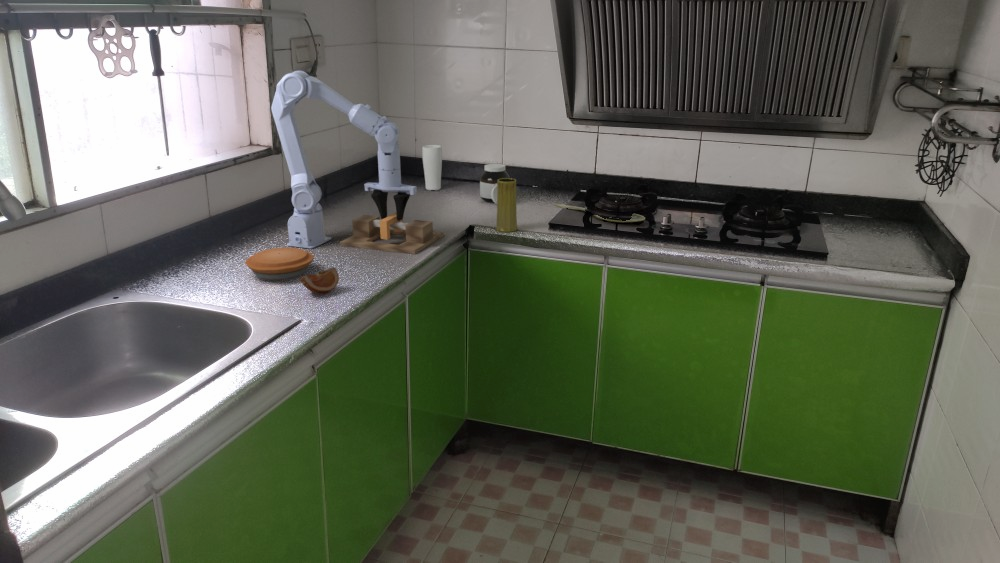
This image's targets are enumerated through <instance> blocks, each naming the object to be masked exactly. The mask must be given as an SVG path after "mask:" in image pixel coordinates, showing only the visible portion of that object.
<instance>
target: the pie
mask: <svg viewBox="0 0 1000 563" xmlns="http://www.w3.org/2000/svg"><path fill="white" fill-rule="evenodd" d="M313 261H314V255H313V253H312V252H309V251H307V250H304V249H303V248H299V247H276V248H275V247H274V248H269V249H264V250H261V251H258V252H255V254H253V255H251V256H250V257H248V258H247V259H246V260H245V262H244V264H245V265H246V266H247V267H248V268H249V269H250V270H251V271H252V272H253V273H254V274H255V277H257V278H258V279H260V280H262V279H263V280H262V281H267V280H269V282H281V281H282V280H283V281H290V280H294V279H297V278H300V277H303V276H305V274H306V273H307V271H308V269H309V267H310V265H311V263H312V262H313Z"/></svg>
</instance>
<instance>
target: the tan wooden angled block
mask: <svg viewBox="0 0 1000 563" xmlns="http://www.w3.org/2000/svg"><path fill="white" fill-rule="evenodd" d="M395 222H404V218H403V219H402V220H400V221H397V215H396V212H394V213H392V214H390V215H389V216H388V215H387V217H386V218H384V219H380V235H381V237H380V239H381V240H386V241H387V240H389V239H391V233H390V226H389V225H391V224H393V223H395ZM402 231H403V230H401V229H394V232H402Z"/></svg>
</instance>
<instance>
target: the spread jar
mask: <svg viewBox="0 0 1000 563" xmlns="http://www.w3.org/2000/svg"><path fill="white" fill-rule="evenodd" d="M501 178H510V174H508V172H507V171H506V165H505V164H502V163H488V164H484V172H483V173H482V174H481V176H480V179H479V194H480V198H481V200H482V201H483V202H485V203H489V204H496V205H497V186H498V184H497V180H498V179H501Z"/></svg>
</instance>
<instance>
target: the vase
mask: <svg viewBox="0 0 1000 563" xmlns="http://www.w3.org/2000/svg"><path fill="white" fill-rule="evenodd" d="M497 184H498V186H497V204H496V205H497V206H496V227H495V229H496V231H498V232H500V233H513V232H516V231H517V230H518V225H517V224H518V223H517V222H518V221H517V220H518V219H517V179H516V178H512V177H511V178H501V179H498V180H497Z"/></svg>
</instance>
